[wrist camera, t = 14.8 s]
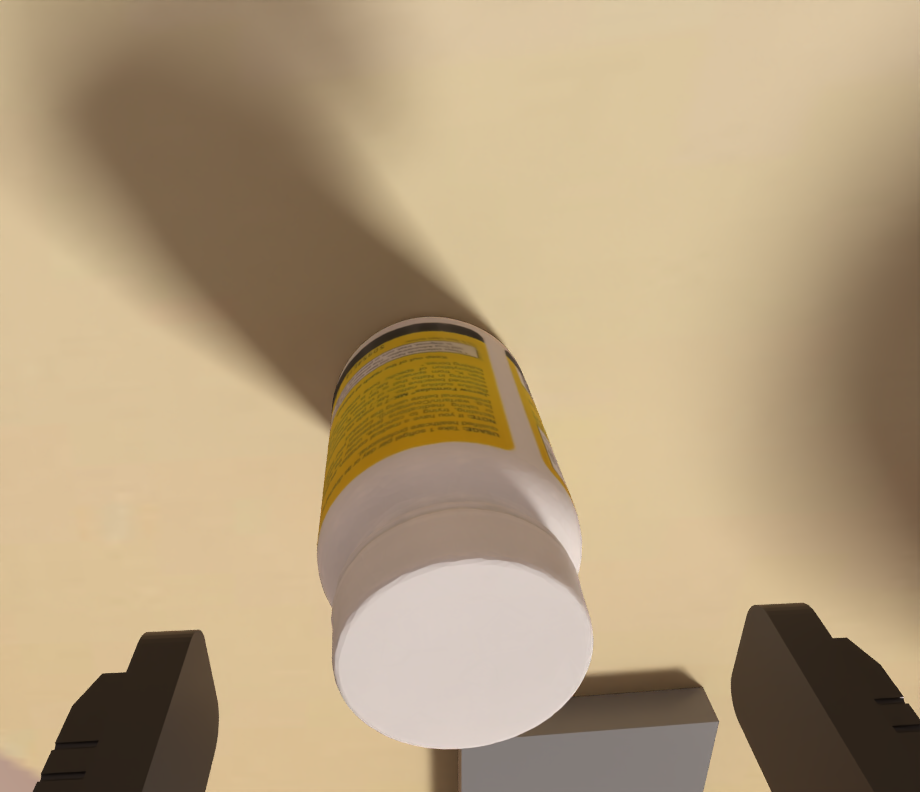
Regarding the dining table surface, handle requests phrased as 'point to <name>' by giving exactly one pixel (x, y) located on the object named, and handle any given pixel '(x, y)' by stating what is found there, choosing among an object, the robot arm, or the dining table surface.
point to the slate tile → (603, 747)
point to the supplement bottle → (448, 542)
